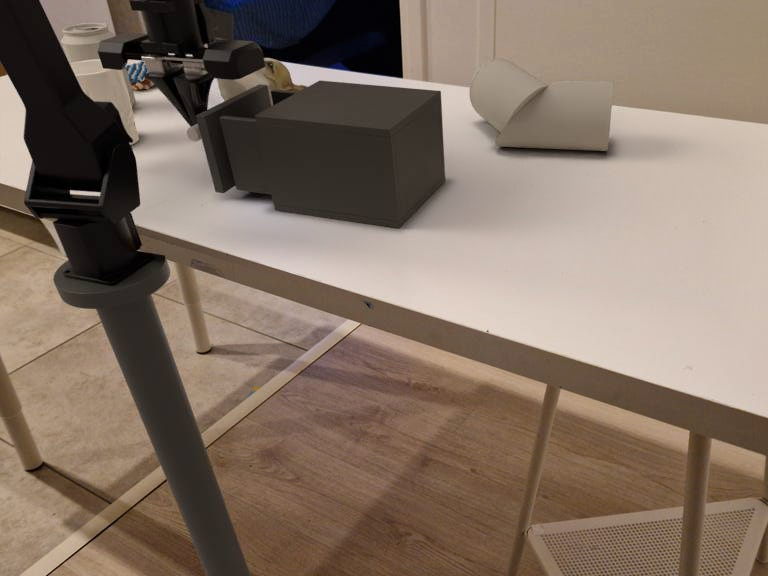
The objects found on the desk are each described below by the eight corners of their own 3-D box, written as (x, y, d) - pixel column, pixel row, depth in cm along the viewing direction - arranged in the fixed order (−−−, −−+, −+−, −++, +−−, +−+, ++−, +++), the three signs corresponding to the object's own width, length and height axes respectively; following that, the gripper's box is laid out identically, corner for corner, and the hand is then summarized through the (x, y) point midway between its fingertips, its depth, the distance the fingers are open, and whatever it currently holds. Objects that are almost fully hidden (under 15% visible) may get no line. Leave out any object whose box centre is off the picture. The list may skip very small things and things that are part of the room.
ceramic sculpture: (192, 52, 103) (277, 39, 112) (204, 114, 108) (284, 96, 118) (236, 64, 98) (321, 49, 107) (246, 129, 103) (327, 109, 112)
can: (147, 106, 112) (122, 23, 105) (107, 120, 107) (77, 33, 100) (116, 100, 116) (90, 18, 108) (76, 113, 110) (45, 28, 103)
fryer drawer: (184, 187, 84) (163, 112, 79) (245, 151, 93) (229, 81, 88) (324, 207, 79) (311, 128, 74) (373, 167, 88) (365, 93, 83)
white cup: (132, 129, 104) (109, 55, 98) (151, 143, 99) (128, 67, 93) (76, 141, 100) (48, 66, 94) (93, 157, 95) (65, 78, 89)
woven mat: (190, 77, 125) (187, 65, 124) (139, 93, 118) (135, 80, 117) (151, 69, 130) (148, 57, 129) (100, 84, 123) (96, 72, 122)
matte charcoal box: (274, 210, 81) (254, 115, 74) (332, 167, 91) (319, 80, 84) (399, 228, 77) (389, 129, 70) (445, 181, 87) (441, 90, 80)
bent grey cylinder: (450, 149, 91) (607, 156, 89) (450, 59, 87) (615, 63, 84) (474, 134, 107) (607, 140, 104) (475, 57, 102) (615, 61, 100)
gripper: (277, -24, 80) (301, 117, 90) (142, -30, 85) (178, 105, 95) (218, -6, 72) (251, 147, 81) (72, -13, 77) (120, 132, 86)
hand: (200, 131), depth 86 cm, fingers closed
